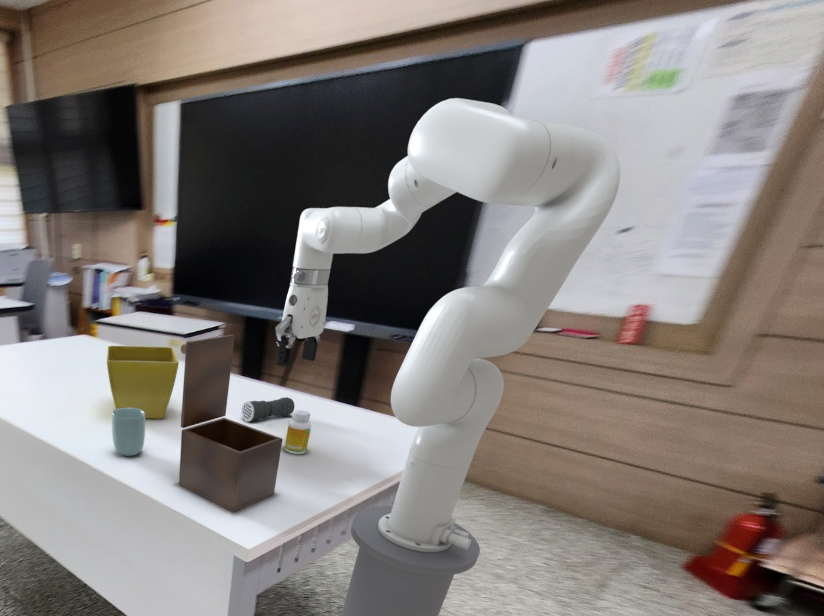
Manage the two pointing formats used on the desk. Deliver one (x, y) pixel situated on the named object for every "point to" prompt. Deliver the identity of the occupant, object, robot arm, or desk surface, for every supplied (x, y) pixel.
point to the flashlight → (267, 409)
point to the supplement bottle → (298, 432)
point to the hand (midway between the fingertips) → (295, 362)
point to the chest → (229, 463)
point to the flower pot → (142, 377)
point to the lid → (206, 379)
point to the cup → (128, 430)
